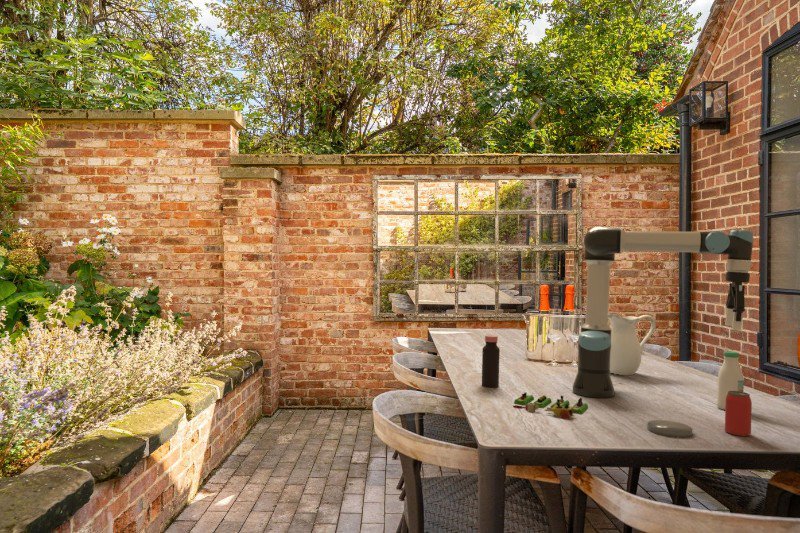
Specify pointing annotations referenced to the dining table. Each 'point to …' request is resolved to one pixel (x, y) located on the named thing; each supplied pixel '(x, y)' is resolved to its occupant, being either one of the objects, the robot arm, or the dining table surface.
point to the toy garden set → (558, 407)
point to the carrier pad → (669, 428)
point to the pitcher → (626, 343)
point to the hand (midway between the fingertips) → (732, 327)
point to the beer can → (738, 413)
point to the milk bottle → (729, 377)
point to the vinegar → (490, 362)
